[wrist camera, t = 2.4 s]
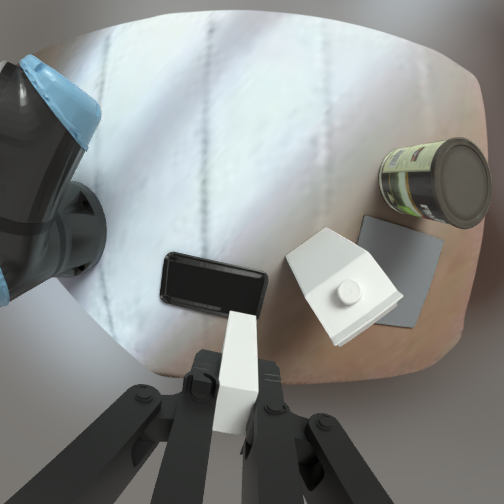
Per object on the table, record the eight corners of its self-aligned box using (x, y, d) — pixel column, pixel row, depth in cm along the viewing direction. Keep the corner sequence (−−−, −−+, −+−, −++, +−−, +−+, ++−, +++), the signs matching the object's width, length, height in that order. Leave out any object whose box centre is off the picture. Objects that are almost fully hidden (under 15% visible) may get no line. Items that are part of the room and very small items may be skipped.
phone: (165, 251, 39) (270, 274, 39) (167, 249, 40) (269, 271, 41) (159, 301, 40) (257, 323, 41) (161, 299, 41) (257, 320, 42)
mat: (334, 316, 42) (334, 317, 41) (364, 214, 38) (365, 215, 38) (412, 326, 43) (413, 327, 42) (442, 239, 39) (443, 240, 39)
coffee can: (424, 221, 39) (483, 238, 25) (371, 204, 38) (426, 215, 24) (436, 160, 36) (496, 158, 23) (384, 137, 36) (440, 122, 22)
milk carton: (350, 265, 40) (415, 323, 22) (311, 293, 41) (352, 370, 22) (325, 226, 39) (386, 262, 20) (284, 255, 40) (313, 315, 21)
